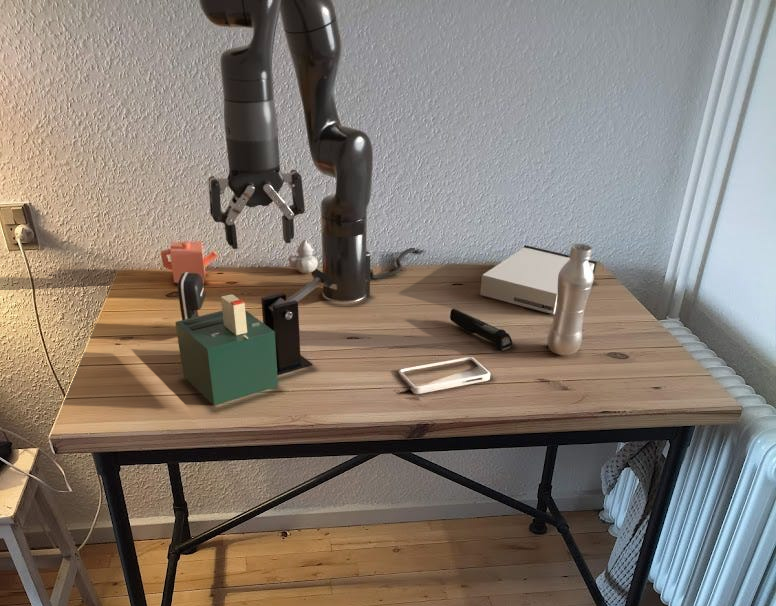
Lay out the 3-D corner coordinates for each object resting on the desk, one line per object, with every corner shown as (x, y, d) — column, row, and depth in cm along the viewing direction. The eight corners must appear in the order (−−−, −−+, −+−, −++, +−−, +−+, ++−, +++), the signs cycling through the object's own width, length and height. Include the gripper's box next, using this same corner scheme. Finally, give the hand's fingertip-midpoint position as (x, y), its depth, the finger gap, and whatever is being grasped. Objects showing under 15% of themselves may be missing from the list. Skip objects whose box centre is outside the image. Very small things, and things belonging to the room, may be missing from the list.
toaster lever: (320, 276, 136) (314, 265, 134) (335, 286, 133) (330, 274, 131) (269, 314, 134) (263, 304, 132) (283, 325, 131) (278, 314, 129)
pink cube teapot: (221, 284, 168) (217, 247, 163) (164, 287, 166) (159, 249, 161) (220, 271, 174) (216, 235, 169) (165, 274, 172) (159, 237, 167)
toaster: (245, 363, 140) (240, 305, 133) (279, 391, 132) (275, 331, 125) (184, 381, 134) (175, 320, 127) (215, 411, 126) (207, 348, 119)
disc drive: (592, 282, 175) (597, 261, 172) (554, 315, 160) (558, 292, 157) (522, 266, 182) (525, 245, 179) (479, 296, 167) (481, 273, 164)
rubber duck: (319, 276, 174) (318, 240, 169) (290, 277, 173) (288, 241, 168) (316, 267, 178) (315, 232, 173) (287, 268, 177) (285, 233, 172)
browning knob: (223, 325, 126) (220, 295, 123) (235, 323, 127) (231, 292, 124) (236, 335, 123) (233, 304, 120) (247, 332, 124) (244, 301, 121)
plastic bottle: (581, 347, 149) (602, 243, 137) (576, 362, 144) (597, 256, 131) (548, 341, 150) (566, 238, 138) (542, 356, 145) (560, 250, 133)
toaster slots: (232, 310, 131) (232, 309, 131) (242, 317, 129) (242, 317, 129) (183, 322, 127) (183, 321, 127) (192, 330, 125) (192, 329, 125)
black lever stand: (293, 354, 143) (289, 288, 135) (312, 369, 138) (310, 301, 131) (254, 365, 139) (248, 297, 131) (273, 381, 135) (268, 312, 127)
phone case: (471, 362, 142) (397, 375, 138) (471, 355, 142) (397, 369, 137) (490, 380, 137) (414, 395, 132) (491, 373, 136) (415, 388, 131)
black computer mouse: (204, 342, 146) (197, 283, 139) (184, 342, 146) (176, 283, 139) (210, 326, 151) (203, 269, 144) (190, 326, 151) (183, 269, 144)
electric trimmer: (458, 320, 158) (459, 305, 156) (513, 346, 148) (515, 331, 146) (445, 324, 156) (446, 309, 154) (499, 351, 146) (501, 336, 144)
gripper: (292, 124, 116) (298, 232, 126) (197, 129, 112) (211, 241, 122) (306, 135, 111) (310, 247, 121) (207, 142, 107) (220, 257, 117)
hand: (260, 244), depth 121 cm, fingers open, 8 cm apart
